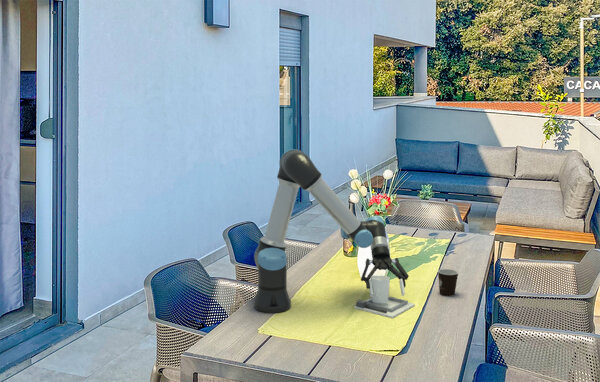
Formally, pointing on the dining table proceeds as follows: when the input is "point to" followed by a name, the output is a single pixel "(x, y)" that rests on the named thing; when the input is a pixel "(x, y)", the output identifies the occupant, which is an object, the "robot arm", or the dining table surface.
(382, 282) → the white cup
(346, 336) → the dining table surface
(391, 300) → the dock
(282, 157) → the robot arm
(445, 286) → the coffee mug
